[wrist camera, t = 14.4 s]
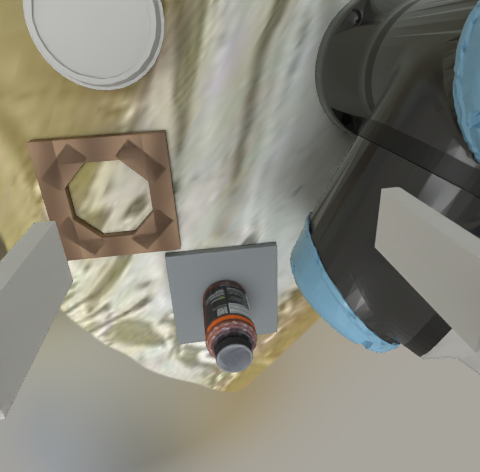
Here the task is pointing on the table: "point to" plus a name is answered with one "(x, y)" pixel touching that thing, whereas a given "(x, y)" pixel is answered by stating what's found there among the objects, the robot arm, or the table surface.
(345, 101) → the robot arm
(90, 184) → the table surface
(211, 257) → the slate pad
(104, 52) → the disposable coffee cup
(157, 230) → the socket board
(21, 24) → the table surface
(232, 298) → the supplement bottle
